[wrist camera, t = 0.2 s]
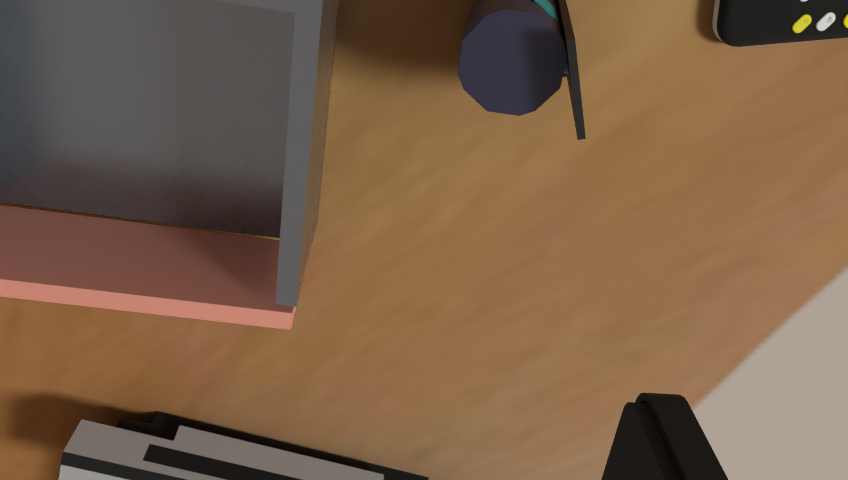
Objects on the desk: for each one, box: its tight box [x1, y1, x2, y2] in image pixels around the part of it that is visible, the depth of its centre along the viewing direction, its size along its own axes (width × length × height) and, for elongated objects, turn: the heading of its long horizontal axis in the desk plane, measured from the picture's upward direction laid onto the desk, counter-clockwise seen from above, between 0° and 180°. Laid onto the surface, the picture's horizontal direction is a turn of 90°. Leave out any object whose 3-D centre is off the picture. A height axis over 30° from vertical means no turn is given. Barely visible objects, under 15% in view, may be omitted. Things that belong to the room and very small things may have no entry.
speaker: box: [458, 0, 586, 140], centre depth 38 cm, size 8×6×10 cm
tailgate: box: [0, 205, 304, 330], centre depth 42 cm, size 1×22×8 cm, turn 81°
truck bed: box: [0, 0, 339, 307], centre depth 39 cm, size 18×22×11 cm
